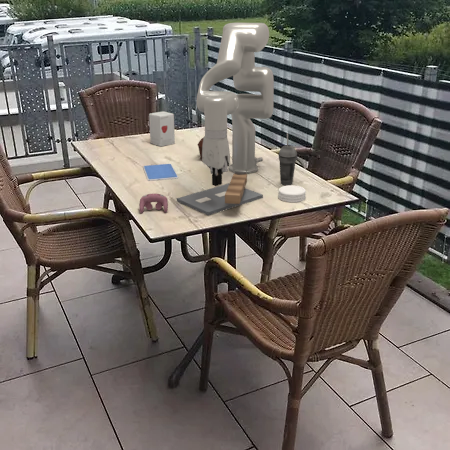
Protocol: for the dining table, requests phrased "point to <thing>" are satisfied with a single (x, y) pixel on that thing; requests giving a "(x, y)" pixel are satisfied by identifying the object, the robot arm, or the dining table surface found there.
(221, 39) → the robot arm
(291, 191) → the white round container
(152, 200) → the video game controller
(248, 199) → the label panel
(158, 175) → the tablet computer
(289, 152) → the beverage cup
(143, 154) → the dining table surface
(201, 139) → the muffin
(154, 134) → the supplement box
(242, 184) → the swing bar
